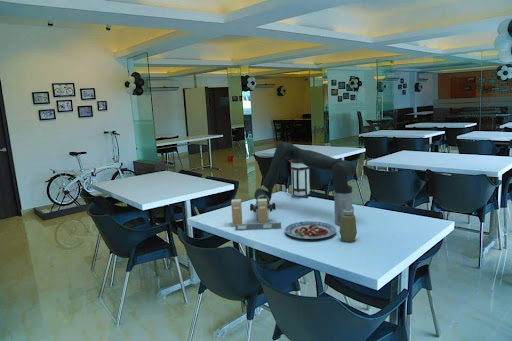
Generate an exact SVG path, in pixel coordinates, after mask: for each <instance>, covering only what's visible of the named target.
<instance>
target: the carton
mask: <svg viewBox="0 0 512 341" xmlns="http://www.w3.org/2000/svg"><path fill="white" fill-rule="evenodd" d="M268 211H269V210H267V199H258V211H257V217H258V218H257V219H258V223H269V216H268V215H269V214H268Z"/></svg>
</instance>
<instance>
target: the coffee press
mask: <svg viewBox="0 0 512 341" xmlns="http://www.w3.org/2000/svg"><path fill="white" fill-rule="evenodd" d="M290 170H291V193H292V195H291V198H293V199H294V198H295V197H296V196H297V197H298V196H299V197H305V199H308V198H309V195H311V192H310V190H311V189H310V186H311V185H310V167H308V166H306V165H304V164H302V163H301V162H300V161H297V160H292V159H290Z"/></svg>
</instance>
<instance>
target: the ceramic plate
mask: <svg viewBox="0 0 512 341" xmlns="http://www.w3.org/2000/svg"><path fill="white" fill-rule="evenodd" d="M284 232H285V234H287V235H289V236H290V237H293V238H297V239H305V240H309V239H310V240H314V239H315V240H317V239H323V238H324V239H325V238H328V237H330V236H333V235H334V234H336V233H337V227H336V226H334V225H333V224H331V223H327V222H324V221H314V220H313V221H312V220H309V221H308V220H307V221H298V222H294V223H291V224H289V225H286V227H285V228H284Z"/></svg>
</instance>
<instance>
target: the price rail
mask: <svg viewBox="0 0 512 341" xmlns="http://www.w3.org/2000/svg"><path fill="white" fill-rule="evenodd" d="M277 229H279V230H280V229H282V223H281V222H278V221H277V222H268V223H259V222H258V223H257V222H256V223H253V222H252V223H242V224H235V227H234V230H235V231H253V230H254V231H256V230H277Z"/></svg>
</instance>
